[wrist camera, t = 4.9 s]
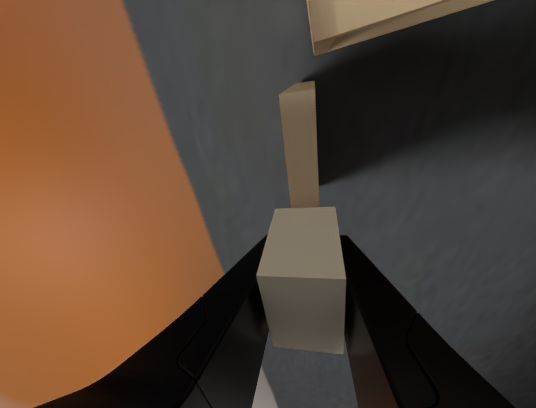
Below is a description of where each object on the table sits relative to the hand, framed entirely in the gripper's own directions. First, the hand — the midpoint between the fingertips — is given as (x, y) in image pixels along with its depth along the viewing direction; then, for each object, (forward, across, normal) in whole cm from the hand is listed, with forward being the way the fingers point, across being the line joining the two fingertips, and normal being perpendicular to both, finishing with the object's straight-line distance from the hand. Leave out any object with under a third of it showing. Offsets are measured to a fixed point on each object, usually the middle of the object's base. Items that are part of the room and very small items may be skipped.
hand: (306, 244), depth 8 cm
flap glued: (+7, 0, -2) cm, 7 cm away
